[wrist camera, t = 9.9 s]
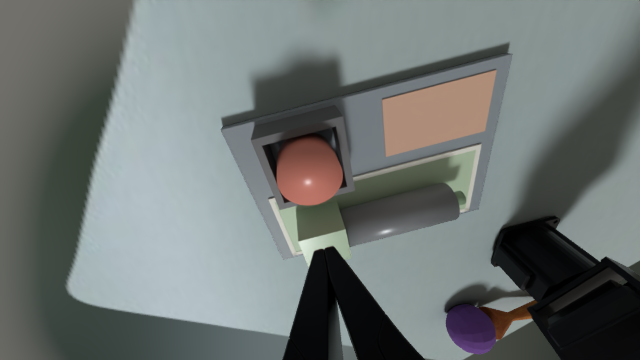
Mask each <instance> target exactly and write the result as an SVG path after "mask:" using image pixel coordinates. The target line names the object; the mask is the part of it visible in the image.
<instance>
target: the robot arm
mask: <svg viewBox="0 0 640 360" xmlns="http://www.w3.org/2000/svg"><path fill="white" fill-rule="evenodd" d="M559 222H560V219H559V218H558V217H556V216H553V217H549V218H545V219H541V220H537V221H533V222H529V223H526V224H522V225H518V226H514V227H510V228H506V229H504V230H502V231H501V233H500V236H499V239H498V242H497V246H496V249H495V252H494V255H493V258H492V261H491V264H492V265H493V266H494V267H497V266H500V267H501V268H502V270H503V271H504V272H505V273H506V274H507V275H508V276H509V277H510V278H511V279H512V280H513V282H514V283H515V284H516V285H517V286H518V287H519V288H520V289H522V290H526V291H527V292H528V293H529V294H530V295H531V296H532V297H533V298H534V299H535V300H536V301H537V303H536V304H534V305H530V306H529V307H527V310H528V312H529V313H530V314H531V317H532V319H533V320H534V322H535V323H536V324H537V326H538V327H539V329H540V330H541V332H542V333H543V334H544V336H545V337H546V339H547V340H548V342H549V343H550V344H551V346H552V347H553V349H554V350H555V352H556V353H557V354H558V356H559V358H560V359H561V360H640V275H638V274H636V273H635V272H634V271H632V270H631V269H629V268H628V267H626V266H624V265H622V264H620V263H618V262H616V261H614V260H612V259H610V258H608V257H605V258H603V259H601V262H599V261H598V260H597V259H595V258H594V257H593V256H591V255H590V254H589V253H587V252H586V251H585V250H583V249H582V248H580V247H579V246H578V245H576V244H575V243H574V242H572V241H571V240H570V239H568V238H567V237H566V236H564V235H563V234H562V233H560V232H559V231H557V230H556V228H557V226H558V224H559ZM624 279H625V280H627V281H628V282H627V283H626V284H624V285H621V284H619V283H618V282H620V281H621V280H624ZM337 302H338V305H339V308H340V311H341V314H342V317H343V320H344V323H345V325H346V328H347V331H348V334H349V337H350V340H351V343H352V345H353V348H354V351H355V354H356V357H357V360H425V359H424V358H423V357H422V356H421V355H420V354H419V353H418V352H417V351H416V349H415V348H414V347H413V346H412V345H411V344H410V343H409V342H408V341H407V339H406V338H405V337H404V336H403V335H402V334H401V332H400V331H399V330H398V329H397V327H396V326H395V325H394V324H393V322H392V321H391V320H390V319H389V317H388V316H387V315H386V314H385V312H384V311H383V310H382V308H381V307H380V306H379V304H378V303H377V302H376V300H375V299H374V298H373V296H372V295H371V294H370V292H369V291H368V290H367V289H366V287H365V286H364V285H363V283H362V282H361V281H360V279H359V278H358V277H357V275H356V274H355V273H354V272H353V270H352V269H351V268H350V266H349V265H348V264H347V262H346V261H345V260H344V258H343V257H342V256H341V254H340V253H339V252H338V251H337V249H336V248H335V247H334V246H330V247H326V248H325V249H318V250H315V251H314V252H313V256H312V259H311V262H310V266H309V269H308V273H307V276H306V280H305V283H304V287H303V290H302V294H301V297H300V301H299V304H298V308H297V311H296V315H295V318H294V322H293V325H292V329H291V332H290V336H289V338H290V339H289V340H288V343H287V346H286V349H285V353H284V356H283V359H282V360H343V351H342V342H341V333H340V323H339V314H338V305H337Z"/></svg>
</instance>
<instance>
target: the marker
mask: <svg viewBox="0 0 640 360" xmlns="http://www.w3.org/2000/svg"><path fill="white" fill-rule="evenodd" d="M465 203H466V197H465V195H464V193H463V192H462V191H455V192H454V191H453V190H452V188H451V187H450V186H449V185H448V184H446V183H439V184H435V185H431V186H427V187H423V188H419V189H416V190H412V191H408V192H404V193H400V194H396V195H393V196H389V197H385V198H381V199H377V200H373V201H369V202H366V203H362V204H358V205H354V206H350V207H346V208H342V209H339V207H338V204H337V201H335V202H331V203H327V204H323V205H319V206H316V207H312V208H308V209H304V210H300V211H296V219H297V232H298V242H299V245H300V247H301V250H302V252H303V255H304V257H305V260H306V262H307V265H308V267H309V266H310V262H311V259H312V256H313V252H314V251H315V250H318V249H325V248H326V247H330V246H334V247H335V248H336V249H337V251H338V252H339V253H340V254H341V256H342V257H343V258H344V260H346V259H350V258H352V256H351V252H350V247H352V246H356V245H359V244H363V243H367V242H371V241H375V240H379V239H383V238H386V237H390V236H394V235H398V234H402V233H406V232H410V231H413V230H417V229H421V228H425V227H429V226H433V225H437V224H440V223H444V222H448V221H452V220H456V219H457V218H458V217H459V214H460V207H459V206H460V205H464V204H465Z"/></svg>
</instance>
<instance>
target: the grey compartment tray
mask: <svg viewBox="0 0 640 360" xmlns="http://www.w3.org/2000/svg"><path fill="white" fill-rule="evenodd" d="M511 59H512V54H509V53H504V54H500V55H496V56H492V57H489V58H485V59H481V60H477V61H473V62H469V63H466V64H462V65H458V66H454V67H450V68H446V69H443V70H439V71H435V72H431V73H427V74H424V75H420V76H416V77H412V78H408V79H404V80H401V81H397V82H393V83H389V84H385V85H381V86H378V87H374V88H370V89H366V90H362V91H358V92H355V93H351V94H347V95H343V96H339V97H335V98H332V99H328V100H324V101H320V102H316V103H313V104H309V105H305V106H301V107H297V108H293V109H290V110H286V111H282V112H278V113H274V114H270V115H267V116H263V117H259V118H255V119H251V120H247V121H244V122H240V123H236V124H232V125H228V126H224V127H222V129H221V132H222V134H223V136H224V138H225V140H226V142H227V144H228V146H229V148H230V151H231V153H232V155H233V157H234V159H235V161H236V163H237V165H238V167H239V169H240V171H241V173H242V175H243V177H244V180H245V182H246V184H247V186H248V188H249V190H250V192H251V194H252V196H253V198H254V200H255V202H256V204H257V206H258V209H259V211H260V213H261V215H262V217H263V219H264V221H265V223H266V225H267V227H268V229H269V231H270V233H271V235H272V238H273V240H274V242H275V244H276V246H277V248H278V250H279V252H280V254H281V256H282V258H283V260H285V259H289V258H292V257H296V256H300V255H303V252H302V250H301V247H300V245H299V242H298V232H297V219H296V211H300V210H304V209H308V208H312V207H316V206H319V205H323V204H327V203H331V202H335V201H337V204H338V207H339V209H342V208H346V207H350V206H354V205H358V204H362V203H366V202H369V201H373V200H377V199H381V198H385V197H389V196H393V195H396V194H400V193H404V192H408V191H412V190H416V189H419V188H423V187H427V186H431V185H435V184H439V183H446V184H448V185H449V186H450V187H451V188H452V190H453V191H454V192H455V191H462V192H463V193H464V195H465V197H466V203H465V204H464V205H460V206H459V207H460V214H462V213H466V212H470V211H474V210H477V209H479V204H480V199H481V195H482V190H483V186H484V181H485V177H486V172H487V168H488V163H489V159H490V154H491V150H492V145H493V141H494V136H495V131H496V127H497V122H498V118H499V113H500V109H501V104H502V100H503V95H504V91H505V86H506V82H507V77H508V73H509V68H510V63H511ZM309 133H316V134H319V135H321V136H323V137H325V138H326V139H327V140H328V141H329V142H330V143H331V145H332V147H333V149H334V151H335V154H336V156H337V158H338V161H339V163H340V165H341V168H342V172H343V179H342V183H341V186H340V188H339V190H338V191H337V192H336V194H335V195H334V196H332V197H331V198H330V199H329V200H327V201H325V202H323V203H320V204H316V205H299V204H296V203H293V202H291V201H289V200H288V199H286V198H285V197H284V196H283V195H282V194H281V192H280V190H279V188H278V185H277V155H278V151H279V149H280V147H281V145H282V144H283V143H284V142H285V140H287V139H289V138H293V137H297V136H301V135H305V134H309Z"/></svg>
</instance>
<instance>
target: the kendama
mask: <svg viewBox="0 0 640 360" xmlns="http://www.w3.org/2000/svg"><path fill="white" fill-rule="evenodd" d="M536 303H537V301H536V300H534V301H531V302H529V303H527V304H525V305H523V306H521V307H518V308H516V309H514V310H512V311H510V312H504V311H500V310H496V309H492V308H488V307H484V306H482V307H479V308H477V307H475V306H472V305H467V304H462V305H458V306H455V307H453V308H452V309H451V310H450V311H449V312H448V314H447V318H446V328H447V331H448V333H449V336H450V337H451V339H452V340H453V342H454V343H455V344H456V345H458V346H459V347H460V348H462V349H463V350H465V351H466V352H469V353H474V354H483V353H486V352H489V350H490V349H491V348H492V347H493V345H494V344H495V342H496V339H501V338H502V337H503V336H504V334H505V332H506V331H507V329H508V328H509V326H510V325H511V323H512V321H515V320H523V319H531V318H532V317H531V314H530V313H529V312H528V310H527V307H529V306H530V305H534V304H536Z"/></svg>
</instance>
